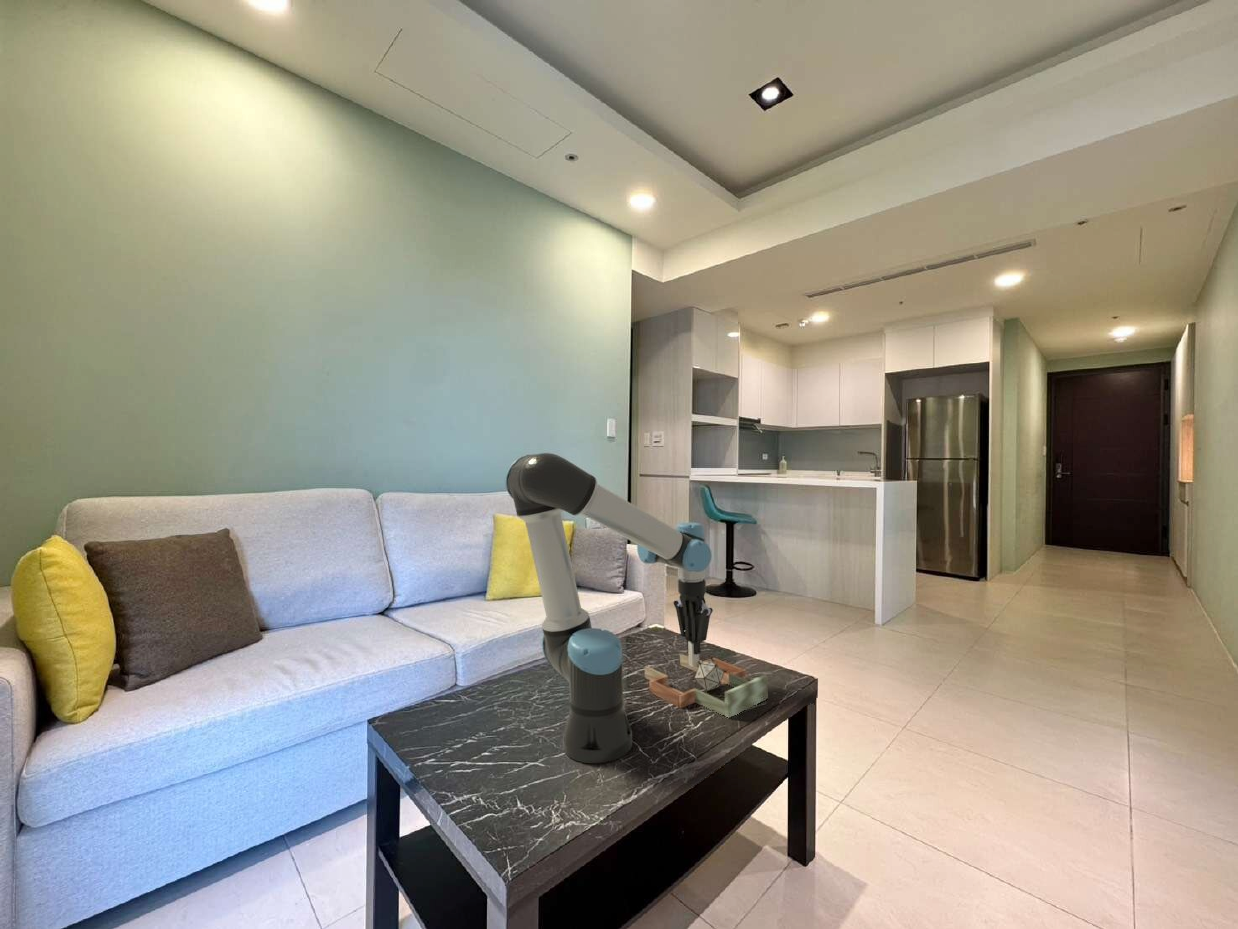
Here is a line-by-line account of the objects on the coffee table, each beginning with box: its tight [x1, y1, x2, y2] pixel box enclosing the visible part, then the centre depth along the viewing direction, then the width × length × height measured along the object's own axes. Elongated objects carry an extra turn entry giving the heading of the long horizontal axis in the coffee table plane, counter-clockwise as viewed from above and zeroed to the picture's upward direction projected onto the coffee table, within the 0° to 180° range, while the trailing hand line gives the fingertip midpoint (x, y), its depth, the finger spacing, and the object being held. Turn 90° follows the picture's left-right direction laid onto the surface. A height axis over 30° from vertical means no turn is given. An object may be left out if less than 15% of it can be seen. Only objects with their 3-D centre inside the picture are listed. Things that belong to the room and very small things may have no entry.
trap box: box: [644, 654, 769, 719], centre depth 135 cm, size 25×31×6 cm
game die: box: [691, 656, 727, 694], centre depth 133 cm, size 9×8×10 cm
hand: (694, 664), depth 137 cm, fingers closed
